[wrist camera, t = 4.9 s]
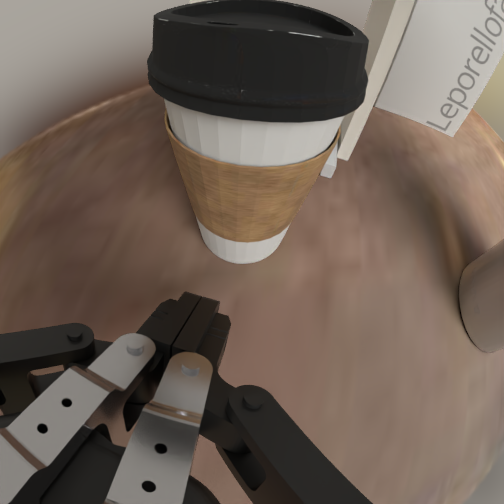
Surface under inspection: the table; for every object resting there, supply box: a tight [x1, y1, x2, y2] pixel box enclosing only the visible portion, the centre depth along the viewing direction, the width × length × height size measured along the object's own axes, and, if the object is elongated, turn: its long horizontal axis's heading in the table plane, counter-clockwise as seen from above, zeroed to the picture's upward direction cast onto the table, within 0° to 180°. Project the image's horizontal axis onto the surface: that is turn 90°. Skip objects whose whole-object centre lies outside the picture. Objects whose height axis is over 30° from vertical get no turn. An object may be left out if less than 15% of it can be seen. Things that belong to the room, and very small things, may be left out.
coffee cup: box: [147, 0, 369, 264], centre depth 13 cm, size 8×8×15 cm
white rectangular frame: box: [190, 0, 415, 178], centre depth 17 cm, size 15×13×20 cm
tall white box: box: [374, 0, 504, 137], centre depth 18 cm, size 14×6×30 cm, turn 84°
